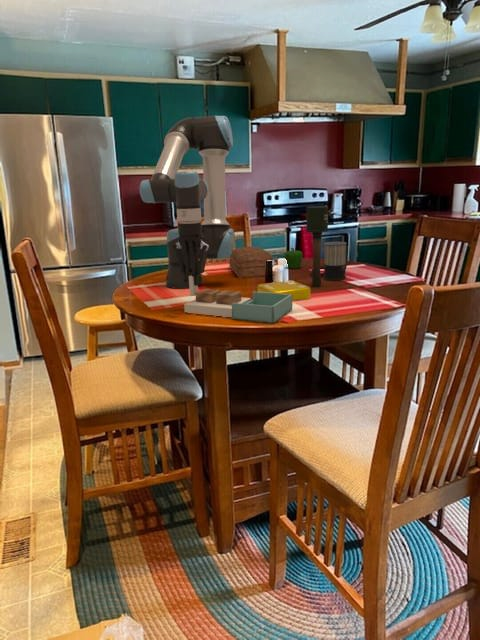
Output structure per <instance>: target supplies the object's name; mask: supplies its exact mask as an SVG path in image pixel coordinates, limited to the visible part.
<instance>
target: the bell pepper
mask: <svg viewBox="0 0 480 640" xmlns="http://www.w3.org/2000/svg"><path fill="white" fill-rule="evenodd" d="M284 252H285V253H284V260H285V259H286V260H287V264H288V267H287V268H288V269H291V270H295V269H299V268H300V267H301V266H302V262H303V252H302V251H301V250H295V247H292V246H291V247H290V250H287V251H284Z"/></svg>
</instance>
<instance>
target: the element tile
mask: <svg viewBox="0 0 480 640" xmlns="http://www.w3.org/2000/svg"><path fill="white" fill-rule="evenodd" d="M257 292H265V293H278V294H292V302H297V301H303V300H310V299H311V286H308V285H305V284H304V283H303V284H302V283H300V282H297V281H295V280H284V281H283V280H282V281H277V282H269V283H268V282H267V283H260V284H258V285H257Z"/></svg>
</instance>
